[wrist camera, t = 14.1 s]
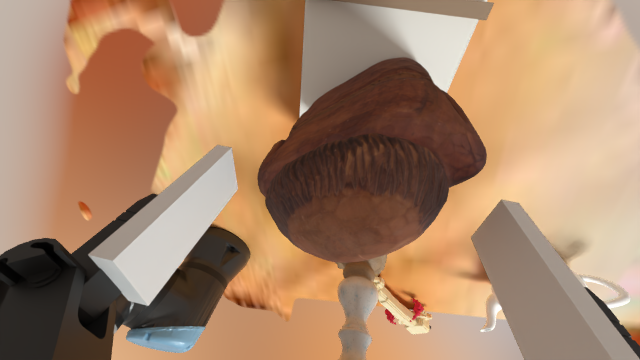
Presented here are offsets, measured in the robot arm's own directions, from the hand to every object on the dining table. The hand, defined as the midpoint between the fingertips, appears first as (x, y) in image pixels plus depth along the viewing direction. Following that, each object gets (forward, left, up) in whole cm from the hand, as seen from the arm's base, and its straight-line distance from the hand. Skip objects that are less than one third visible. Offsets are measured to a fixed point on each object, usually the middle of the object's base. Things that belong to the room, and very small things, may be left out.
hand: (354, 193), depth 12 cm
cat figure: (+19, -50, -23) cm, 58 cm away
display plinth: (0, 0, -23) cm, 23 cm away
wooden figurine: (0, 0, -15) cm, 15 cm away
